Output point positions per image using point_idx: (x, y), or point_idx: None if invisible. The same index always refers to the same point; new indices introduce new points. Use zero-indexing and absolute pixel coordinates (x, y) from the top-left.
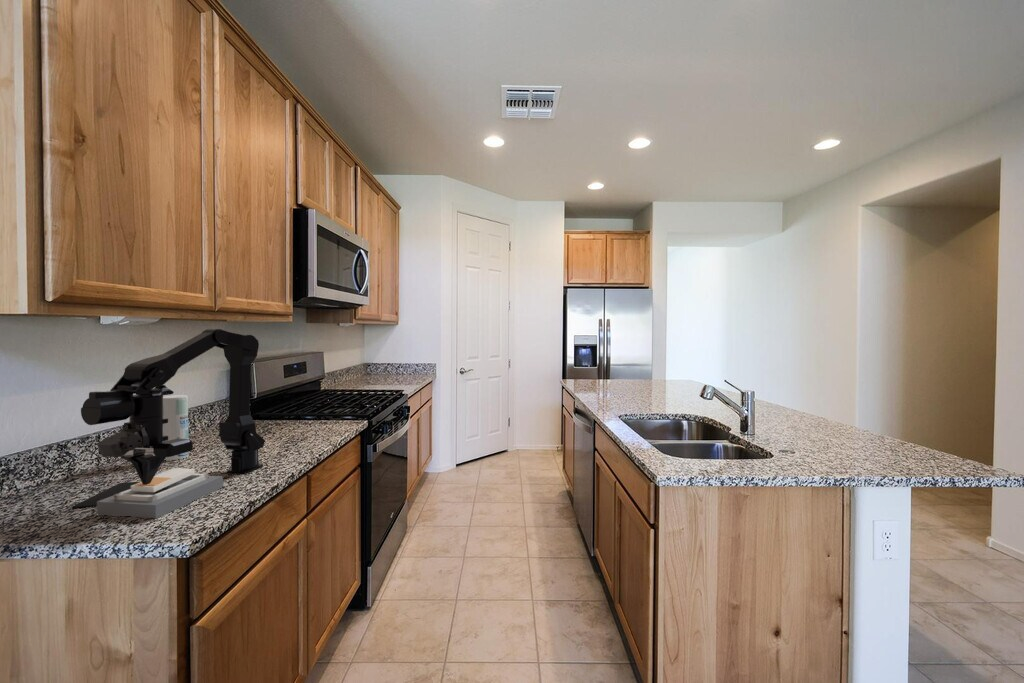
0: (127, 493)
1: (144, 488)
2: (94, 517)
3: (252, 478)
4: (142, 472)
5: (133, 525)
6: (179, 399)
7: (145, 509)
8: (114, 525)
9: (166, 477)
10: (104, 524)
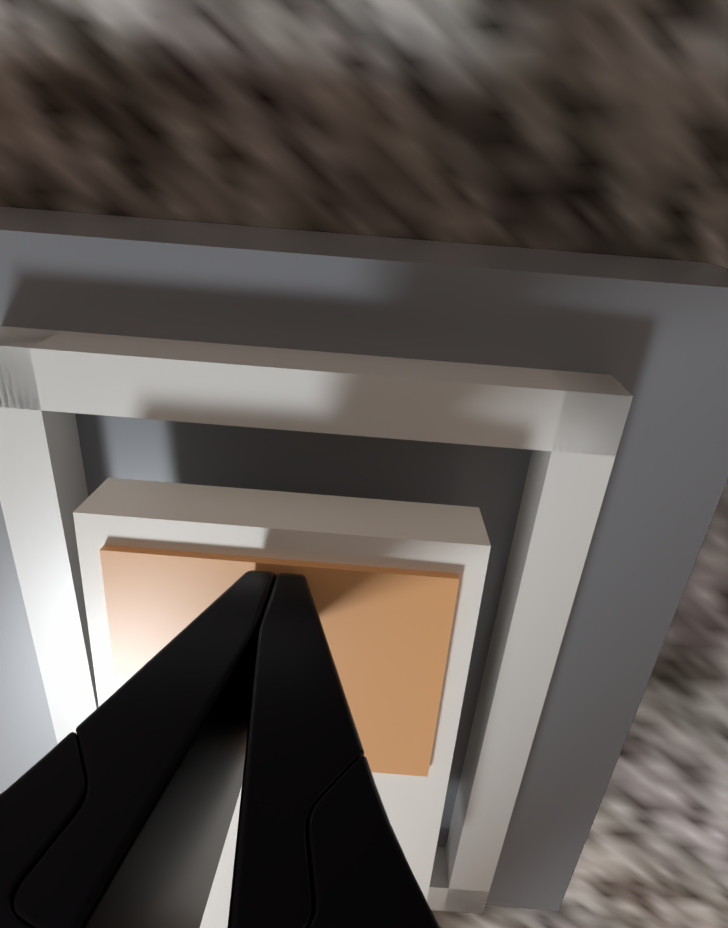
0: (534, 493)
1: (246, 512)
2: (688, 206)
3: None
4: (247, 731)
5: (8, 18)
6: None
7: (24, 222)
8: (238, 3)
9: None
10: (391, 24)
